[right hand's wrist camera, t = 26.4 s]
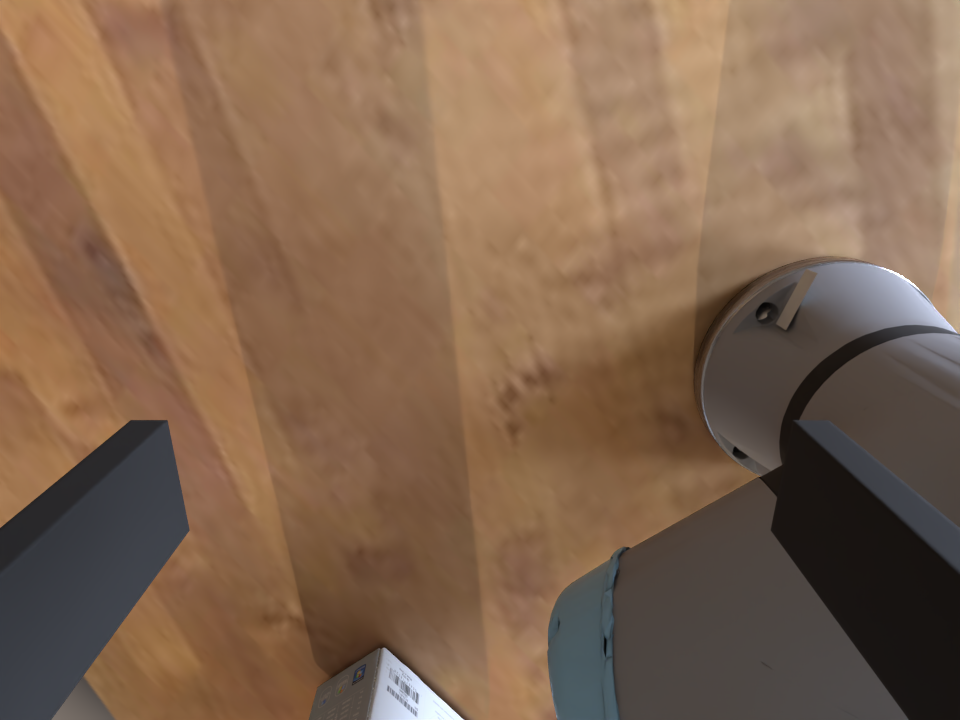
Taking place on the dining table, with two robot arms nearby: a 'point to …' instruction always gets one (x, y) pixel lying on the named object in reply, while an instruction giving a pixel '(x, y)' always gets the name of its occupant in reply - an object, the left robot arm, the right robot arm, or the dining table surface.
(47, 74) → the dining table surface
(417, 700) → the hard drive box
